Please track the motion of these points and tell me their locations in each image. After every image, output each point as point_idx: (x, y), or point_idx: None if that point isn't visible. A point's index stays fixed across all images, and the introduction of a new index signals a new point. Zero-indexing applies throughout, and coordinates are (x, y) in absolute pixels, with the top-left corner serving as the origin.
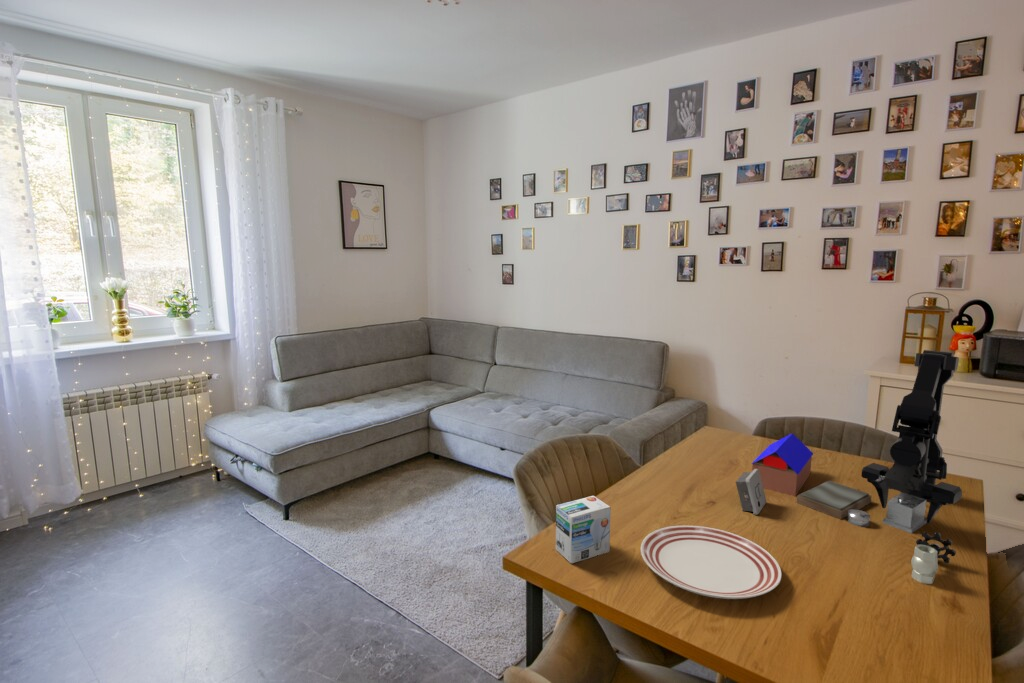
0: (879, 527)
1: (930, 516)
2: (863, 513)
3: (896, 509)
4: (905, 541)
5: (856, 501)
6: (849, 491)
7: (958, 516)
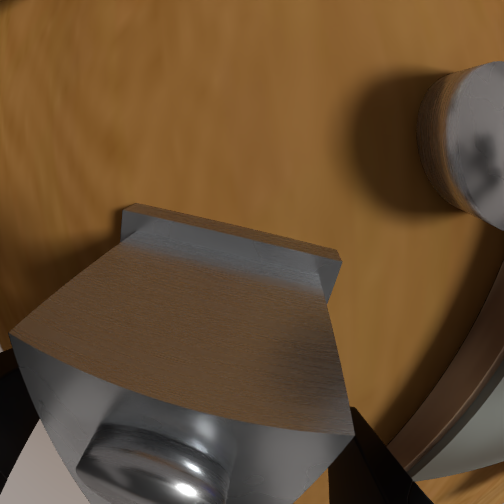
0: (347, 140)
1: (13, 352)
2: (499, 175)
3: (228, 339)
4: (149, 31)
5: (493, 377)
6: (489, 442)
7: None
